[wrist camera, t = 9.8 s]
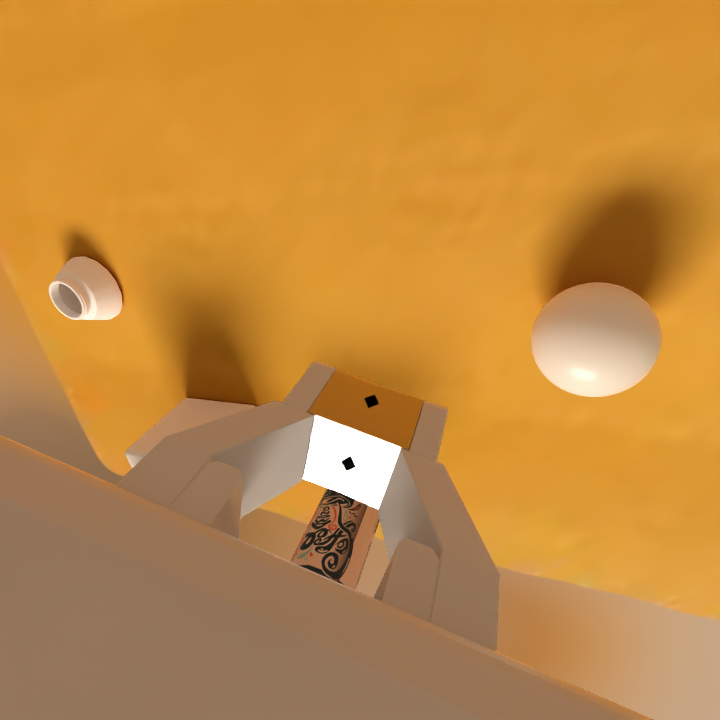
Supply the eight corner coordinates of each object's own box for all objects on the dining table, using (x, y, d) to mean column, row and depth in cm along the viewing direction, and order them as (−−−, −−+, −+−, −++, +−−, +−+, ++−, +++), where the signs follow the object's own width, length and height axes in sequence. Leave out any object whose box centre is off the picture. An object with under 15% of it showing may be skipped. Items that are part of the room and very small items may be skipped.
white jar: (128, 324, 35) (124, 268, 32) (99, 341, 32) (91, 282, 29) (76, 302, 35) (67, 245, 32) (43, 317, 33) (31, 257, 30)
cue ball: (693, 394, 17) (694, 285, 19) (566, 345, 17) (582, 241, 19) (600, 425, 22) (609, 335, 24) (502, 387, 22) (520, 301, 24)
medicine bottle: (185, 395, 36) (62, 503, 27) (257, 403, 34) (152, 524, 24) (208, 458, 40) (107, 574, 30) (275, 469, 38) (190, 599, 28)
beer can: (372, 460, 33) (310, 609, 24) (397, 504, 35) (349, 660, 25) (323, 468, 36) (248, 607, 26) (348, 509, 37) (287, 654, 27)
